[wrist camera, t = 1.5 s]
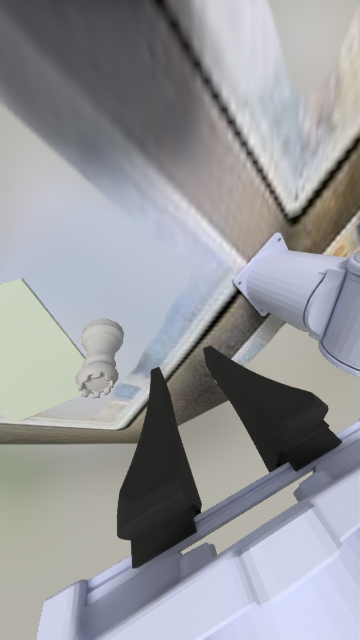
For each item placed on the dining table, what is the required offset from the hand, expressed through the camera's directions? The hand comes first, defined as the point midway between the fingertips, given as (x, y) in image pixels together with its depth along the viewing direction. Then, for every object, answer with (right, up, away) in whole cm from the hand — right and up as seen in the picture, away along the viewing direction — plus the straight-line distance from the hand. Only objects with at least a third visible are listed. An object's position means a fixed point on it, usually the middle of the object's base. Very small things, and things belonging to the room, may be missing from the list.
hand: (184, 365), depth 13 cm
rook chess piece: (-10, +2, +7) cm, 12 cm away
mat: (-18, -1, +5) cm, 19 cm away
